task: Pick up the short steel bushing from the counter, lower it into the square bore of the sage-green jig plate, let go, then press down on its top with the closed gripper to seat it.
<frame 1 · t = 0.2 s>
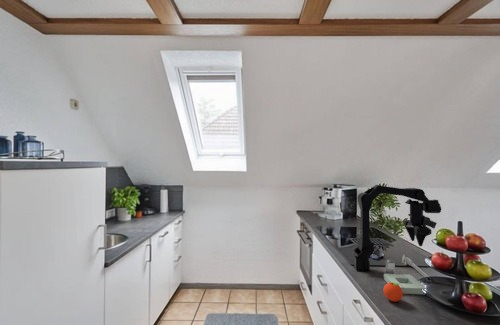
hand: (416, 243, 133), 14 cm above the countertop, tool pointing down, fingers open, 9 cm apart
bushing: (390, 274, 129), on the countertop
snack package: (375, 257, 155), on the countertop
clementine: (394, 300, 105), on the countertop
jig: (403, 286, 117), on the countertop
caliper: (415, 271, 134), on the countertop
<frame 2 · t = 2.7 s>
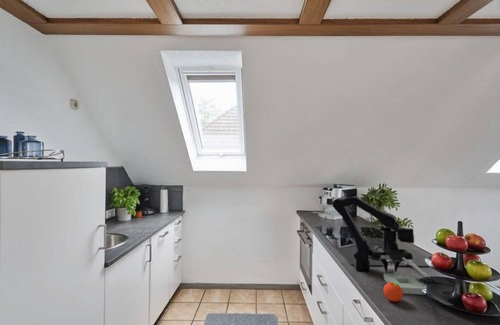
hand: (390, 271, 129), 2 cm above the countertop, tool pointing down, fingers closed on bushing, 4 cm apart
bushing: (390, 274, 129), on the countertop, touching gripper
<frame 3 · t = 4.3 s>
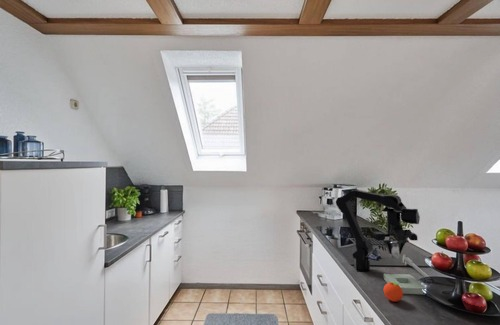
hand: (394, 253, 126), 12 cm above the countertop, tool pointing down, fingers closed on bushing, 4 cm apart
bushing: (394, 257, 126), point 10 cm above the countertop, touching gripper
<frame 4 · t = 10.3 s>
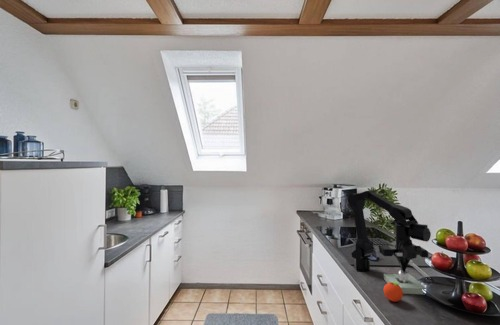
hand: (403, 270, 117), 7 cm above the countertop, tool pointing down, fingers closed, pressing on bushing
bushing: (403, 286, 117), resting in jig, touching gripper
snack package: (371, 258, 154), on the countertop
everything else where it was.
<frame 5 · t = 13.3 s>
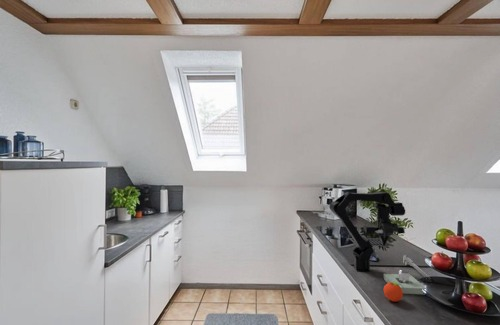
hand: (383, 245, 137), 12 cm above the countertop, tool pointing down, fingers closed
bushing: (403, 286, 117), resting in jig
snack package: (370, 258, 153), on the countertop
everything else where it was.
at the end: bushing 0.0 cm off-centre on the jig, point 0.0 cm above the jig's base; bushing tilted 0°; the gripper is holding nothing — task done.
